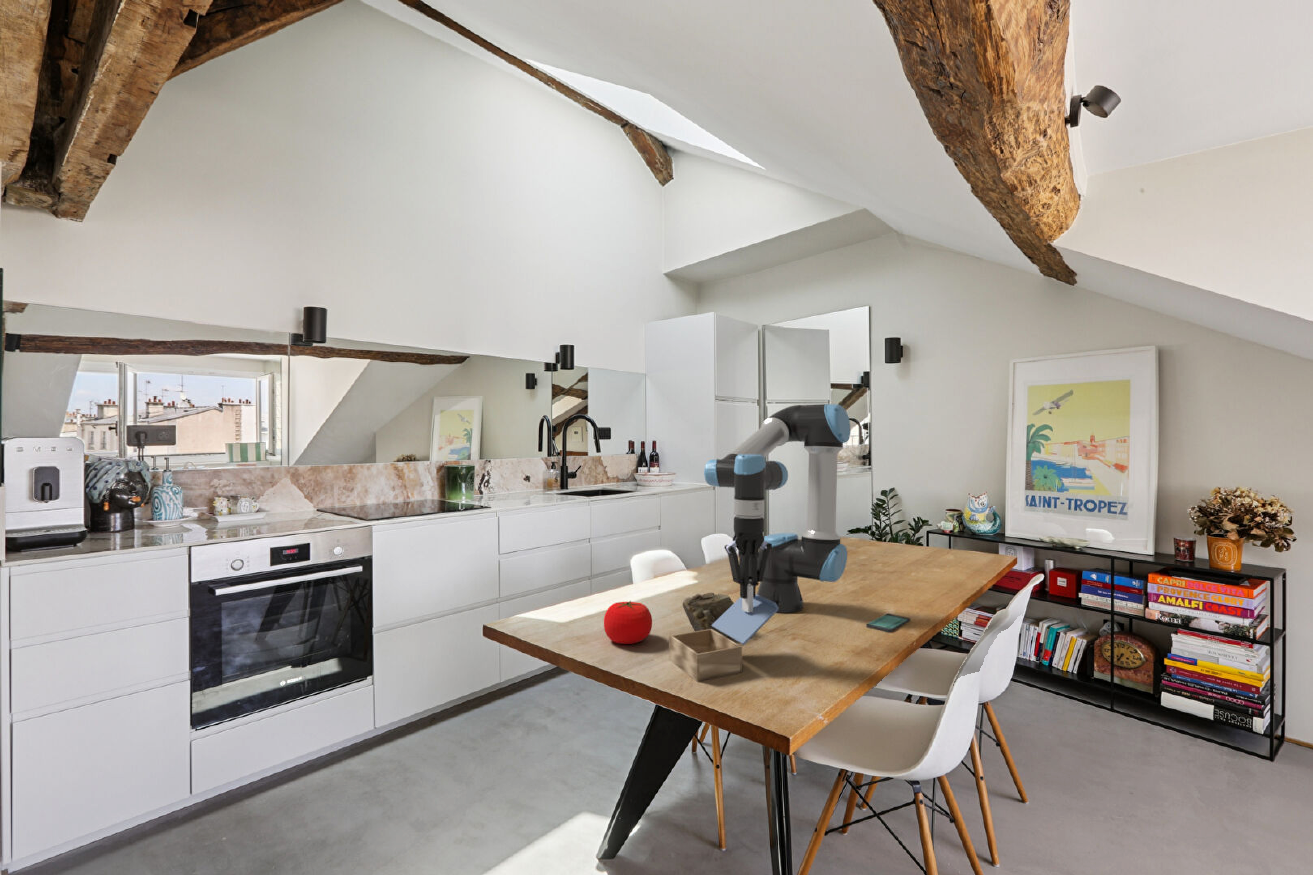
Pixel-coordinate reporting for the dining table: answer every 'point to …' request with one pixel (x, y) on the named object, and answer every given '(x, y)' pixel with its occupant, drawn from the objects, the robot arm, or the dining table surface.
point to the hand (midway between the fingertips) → (747, 610)
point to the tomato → (627, 622)
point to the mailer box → (705, 654)
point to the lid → (745, 619)
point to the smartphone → (888, 623)
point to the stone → (706, 610)
